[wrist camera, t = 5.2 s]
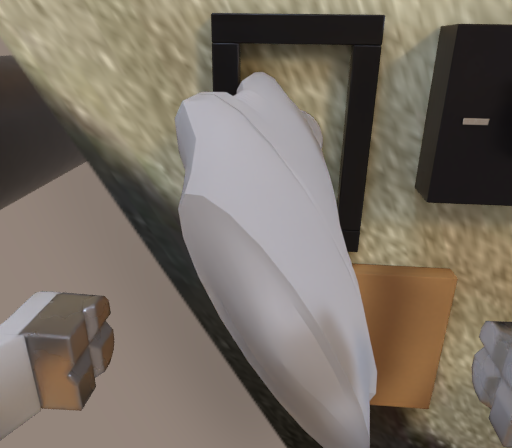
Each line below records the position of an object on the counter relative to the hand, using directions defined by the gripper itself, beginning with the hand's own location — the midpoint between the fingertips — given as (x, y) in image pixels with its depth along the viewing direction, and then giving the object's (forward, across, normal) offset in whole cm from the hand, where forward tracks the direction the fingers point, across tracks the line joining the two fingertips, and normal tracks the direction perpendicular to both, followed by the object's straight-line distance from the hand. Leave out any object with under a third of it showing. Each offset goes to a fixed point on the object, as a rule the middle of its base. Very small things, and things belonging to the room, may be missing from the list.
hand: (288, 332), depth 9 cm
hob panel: (+21, -14, -2) cm, 25 cm away
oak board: (+21, -7, +15) cm, 27 cm away
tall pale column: (+21, 0, 0) cm, 21 cm away
